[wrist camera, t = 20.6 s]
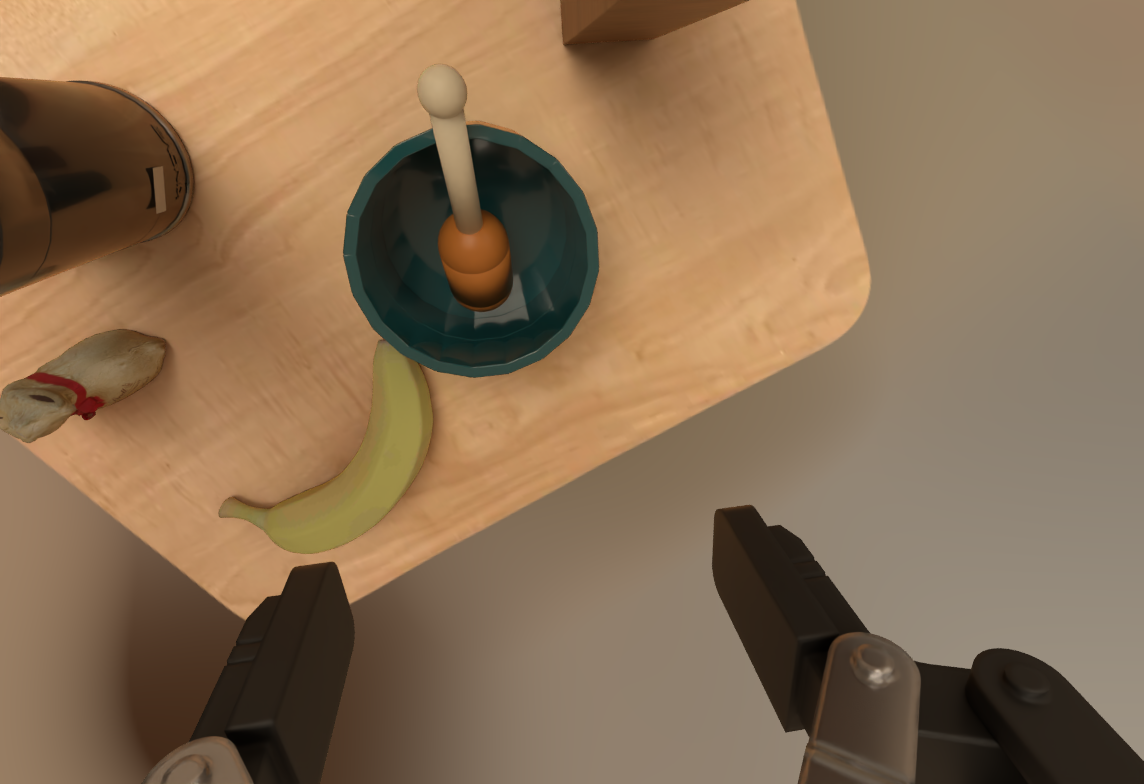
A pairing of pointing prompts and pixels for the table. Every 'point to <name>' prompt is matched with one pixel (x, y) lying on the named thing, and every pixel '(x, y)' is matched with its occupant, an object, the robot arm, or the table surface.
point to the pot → (414, 267)
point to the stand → (632, 18)
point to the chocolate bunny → (80, 382)
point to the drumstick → (464, 201)
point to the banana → (358, 467)
